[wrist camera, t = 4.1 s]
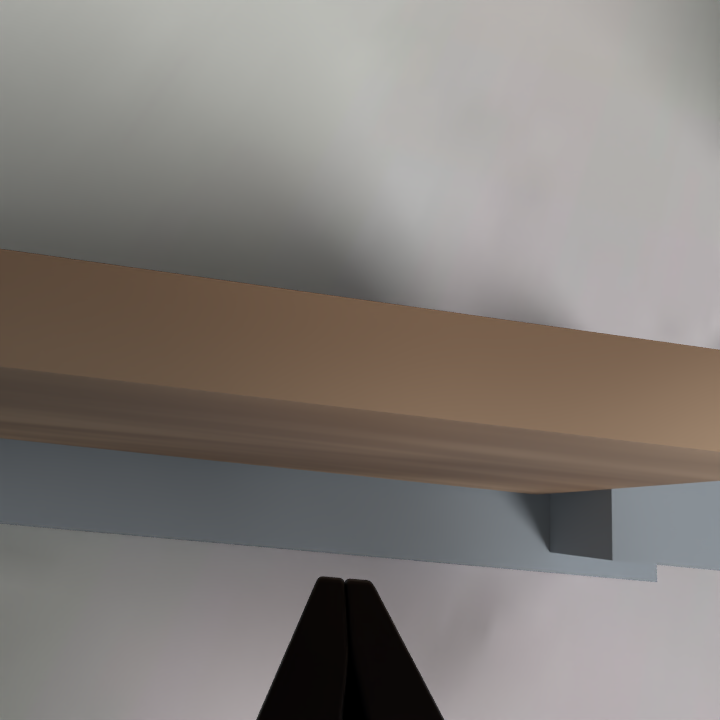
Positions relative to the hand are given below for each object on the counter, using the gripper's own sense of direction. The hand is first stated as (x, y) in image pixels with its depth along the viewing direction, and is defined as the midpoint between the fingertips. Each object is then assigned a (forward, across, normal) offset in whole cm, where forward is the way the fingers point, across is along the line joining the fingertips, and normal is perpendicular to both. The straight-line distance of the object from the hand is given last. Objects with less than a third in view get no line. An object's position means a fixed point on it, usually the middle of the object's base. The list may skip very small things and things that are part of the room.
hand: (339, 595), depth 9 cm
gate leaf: (+6, +2, +2) cm, 6 cm away
